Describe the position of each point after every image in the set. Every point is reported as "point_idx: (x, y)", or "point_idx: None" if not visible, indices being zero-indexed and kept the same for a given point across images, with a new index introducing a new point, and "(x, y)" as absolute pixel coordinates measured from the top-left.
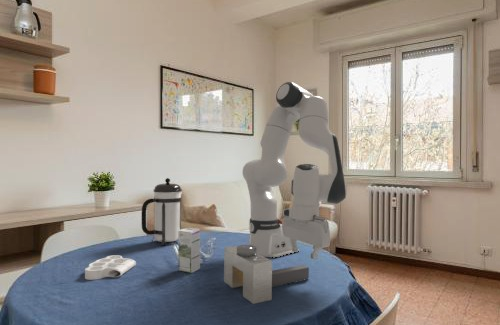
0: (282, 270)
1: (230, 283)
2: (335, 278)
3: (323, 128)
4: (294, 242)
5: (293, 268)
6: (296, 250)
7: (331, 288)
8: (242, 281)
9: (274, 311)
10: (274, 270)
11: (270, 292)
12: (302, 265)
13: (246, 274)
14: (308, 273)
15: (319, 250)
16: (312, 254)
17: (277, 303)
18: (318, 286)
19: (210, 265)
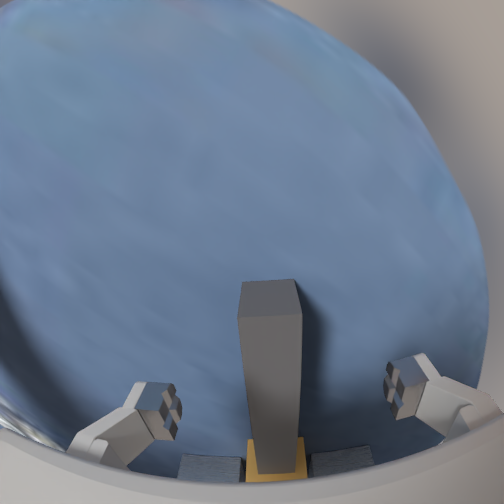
0: (274, 433)
1: None
2: (349, 128)
3: None
4: (115, 442)
5: (272, 391)
6: (171, 403)
7: (435, 248)
8: (242, 478)
9: (413, 445)
10: (257, 450)
11: (372, 462)
12: (246, 327)
13: None
14: (297, 296)
15: (471, 392)
16: (414, 410)
17: (393, 438)
18: (391, 288)
19: (66, 440)
